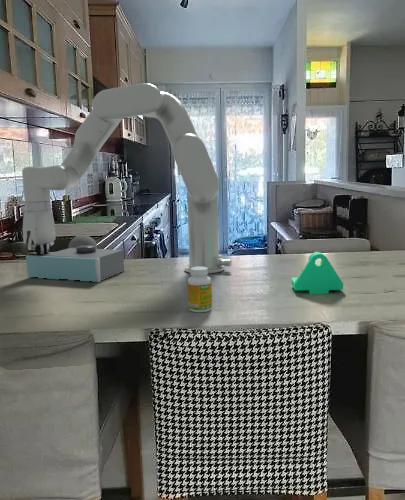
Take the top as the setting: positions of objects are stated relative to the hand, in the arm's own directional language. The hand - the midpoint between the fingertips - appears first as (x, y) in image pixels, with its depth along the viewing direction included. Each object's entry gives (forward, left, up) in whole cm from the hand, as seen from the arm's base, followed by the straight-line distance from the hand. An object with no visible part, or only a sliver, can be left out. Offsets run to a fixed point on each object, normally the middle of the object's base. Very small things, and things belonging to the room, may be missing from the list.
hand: (43, 265), depth 150 cm
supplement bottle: (-61, +19, -3) cm, 64 cm away
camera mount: (-83, -6, -4) cm, 84 cm away
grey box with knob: (-12, -5, -3) cm, 13 cm away
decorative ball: (0, -21, -3) cm, 21 cm away
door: (-10, +4, -3) cm, 11 cm away
